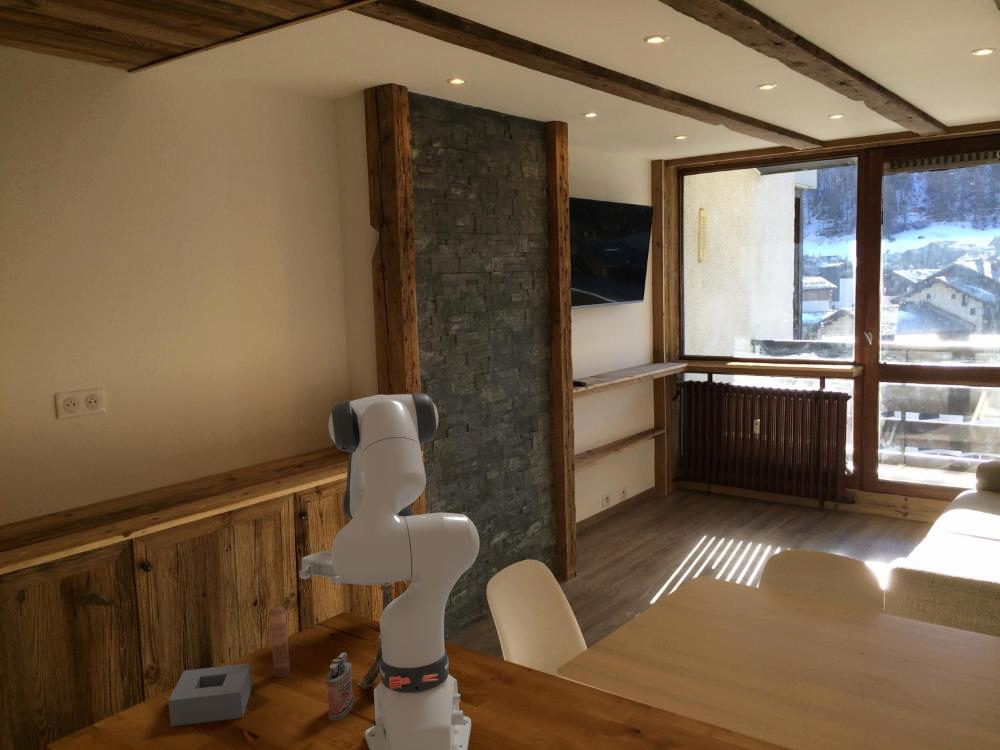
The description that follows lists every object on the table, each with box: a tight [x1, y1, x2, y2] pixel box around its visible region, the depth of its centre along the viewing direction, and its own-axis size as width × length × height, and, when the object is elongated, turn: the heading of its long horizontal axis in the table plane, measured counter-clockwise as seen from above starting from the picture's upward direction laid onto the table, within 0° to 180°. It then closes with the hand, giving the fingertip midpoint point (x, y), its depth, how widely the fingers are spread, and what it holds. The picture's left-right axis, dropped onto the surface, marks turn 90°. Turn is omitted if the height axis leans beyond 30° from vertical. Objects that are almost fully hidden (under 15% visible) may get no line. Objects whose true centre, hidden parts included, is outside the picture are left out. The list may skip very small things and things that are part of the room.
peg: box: [268, 606, 291, 679], centre depth 176 cm, size 3×3×14 cm
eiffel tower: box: [357, 582, 395, 690], centre depth 168 cm, size 11×11×25 cm
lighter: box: [325, 652, 355, 721], centre depth 160 cm, size 8×3×10 cm, turn 168°
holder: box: [167, 662, 253, 727], centre depth 164 cm, size 13×13×5 cm
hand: (317, 578), depth 186 cm, fingers open, 8 cm apart
